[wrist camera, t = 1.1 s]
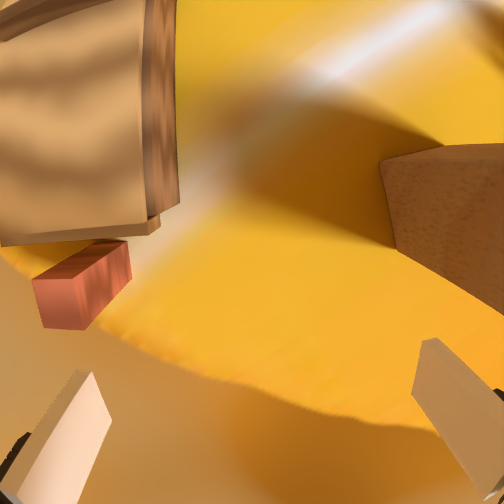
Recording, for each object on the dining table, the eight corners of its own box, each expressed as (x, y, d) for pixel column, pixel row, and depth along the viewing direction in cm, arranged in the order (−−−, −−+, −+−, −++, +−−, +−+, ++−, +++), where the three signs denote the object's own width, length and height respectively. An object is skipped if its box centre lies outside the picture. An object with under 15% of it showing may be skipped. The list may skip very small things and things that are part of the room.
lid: (31, 4, 18) (-8, -21, 11) (160, -38, 19) (141, -84, 11) (23, 238, 25) (-29, 259, 17) (160, 226, 25) (129, 249, 17)
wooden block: (395, 251, 32) (524, 333, 13) (376, 161, 30) (525, 163, 10) (461, 227, 32) (591, 278, 12) (447, 145, 29) (590, 145, 10)
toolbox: (51, 24, 24) (11, -2, 15) (177, -9, 24) (160, -55, 16) (46, 216, 30) (-3, 232, 21) (179, 202, 30) (156, 215, 21)
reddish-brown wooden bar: (94, 243, 31) (31, 279, 19) (127, 241, 31) (72, 278, 19) (99, 279, 32) (43, 327, 20) (132, 278, 32) (84, 330, 20)
